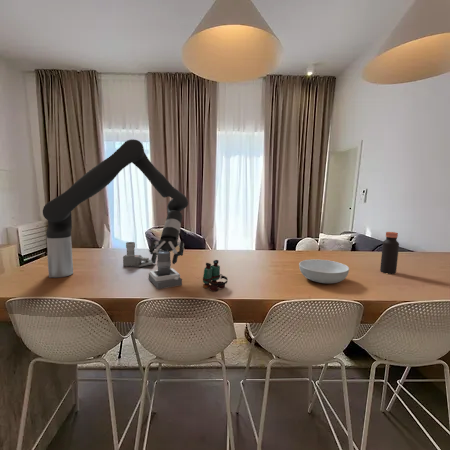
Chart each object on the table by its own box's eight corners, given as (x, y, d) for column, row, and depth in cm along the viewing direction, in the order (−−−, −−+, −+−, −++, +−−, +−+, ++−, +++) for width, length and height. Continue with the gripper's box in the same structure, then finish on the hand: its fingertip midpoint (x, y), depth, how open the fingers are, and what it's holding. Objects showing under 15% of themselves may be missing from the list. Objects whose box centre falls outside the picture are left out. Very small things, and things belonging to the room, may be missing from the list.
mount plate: (157, 289, 105) (157, 279, 105) (148, 278, 117) (148, 269, 117) (181, 285, 110) (181, 275, 110) (170, 275, 122) (170, 266, 122)
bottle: (396, 271, 135) (400, 232, 132) (395, 275, 129) (400, 234, 126) (380, 269, 138) (384, 231, 136) (379, 272, 133) (383, 232, 130)
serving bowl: (289, 275, 126) (289, 261, 125) (325, 271, 134) (326, 257, 133) (319, 291, 107) (320, 274, 106) (359, 285, 114) (360, 269, 113)
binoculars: (219, 269, 100) (200, 262, 106) (216, 295, 102) (198, 287, 108) (234, 264, 107) (215, 257, 113) (231, 289, 109) (213, 281, 115)
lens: (159, 278, 110) (159, 254, 109) (156, 275, 115) (155, 251, 113) (172, 276, 113) (172, 252, 111) (168, 273, 117) (168, 250, 116)
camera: (126, 241, 140) (155, 241, 141) (127, 263, 142) (155, 263, 142) (120, 244, 132) (151, 245, 132) (121, 267, 133) (151, 268, 134)
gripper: (153, 225, 119) (144, 257, 109) (185, 226, 118) (178, 258, 108) (157, 235, 125) (149, 266, 115) (188, 236, 124) (182, 268, 114)
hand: (163, 262), depth 111 cm, fingers open, 8 cm apart
